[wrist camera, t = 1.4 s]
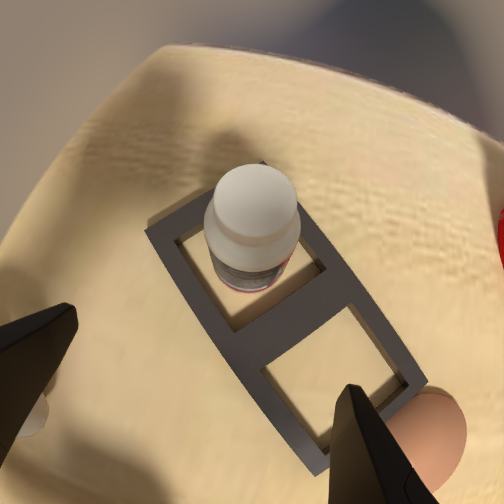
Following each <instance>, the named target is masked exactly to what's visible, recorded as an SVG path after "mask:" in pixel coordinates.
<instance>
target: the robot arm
mask: <svg viewBox="0 0 504 504" xmlns="http://www.w3.org/2000/svg"><path fill="white" fill-rule="evenodd" d="M77 330H78V318H77V312H76V308H75V306H74V305H71V304H69V303H66V302H64V303H61V304H58V305H55V306H53V307H50V308H47V309H45V310H42V311H39V312H37V313H34V314H31V315H29V316H26V317H23V318H21V319H18V320H16V321H13V322H10V323H8V324H5V325H3V326H0V467H1V465H2V463H3V462H4V460H5V458H6V456H7V454H8V452H9V450H10V448H11V446H12V444H13V442H14V440H15V438H16V437H17V435H18V433H19V431H20V429H21V428H22V426H23V424H24V422H25V421H26V419H27V417H28V415H29V414H30V412H31V410H32V409H33V407H34V405H35V404H36V402H37V400H38V399H39V397H40V395H41V394H42V392H43V390H44V389H45V387H46V385H47V384H48V382H49V381H50V379H51V378H52V376H53V374H54V373H55V371H56V370H57V368H58V366H59V365H60V363H61V361H62V359H63V357H64V355H65V353H66V351H67V349H68V347H69V346H70V344H71V342H72V340H73V338H74V336H75V334H76V332H77ZM328 504H439V502H438V501H437V500H436V499H435V498H434V496H433V495H432V494H431V492H430V491H429V490H428V488H427V487H426V486H425V484H424V483H423V481H422V480H421V478H420V477H419V475H418V474H417V472H416V471H415V469H414V468H413V467H412V464H411V463H410V461H409V460H408V458H407V457H406V455H405V453H404V452H403V450H402V449H401V447H400V446H399V444H398V443H397V441H396V440H395V438H394V436H393V435H392V433H391V432H390V430H389V429H388V427H387V426H386V424H385V423H384V421H383V419H382V418H381V416H380V415H379V413H378V412H377V410H376V409H375V407H374V406H373V404H372V403H371V401H370V400H369V398H368V397H367V395H366V394H365V392H364V390H363V389H362V388H361V386H359V385H354V384H347V385H346V386H345V388H344V390H343V391H342V393H341V394H340V396H339V398H338V399H337V402H336V405H335V414H334V422H333V430H332V437H331V445H330V474H329V499H328Z"/></svg>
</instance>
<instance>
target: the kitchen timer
mask: <svg viewBox="0 0 504 504" xmlns="http://www.w3.org/2000/svg"><path fill="white" fill-rule="evenodd" d="M498 244H499V251H500V258H501V261H502V265H503V268H504V209H503V210H502V212H501V215H500V219H499V223H498Z"/></svg>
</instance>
